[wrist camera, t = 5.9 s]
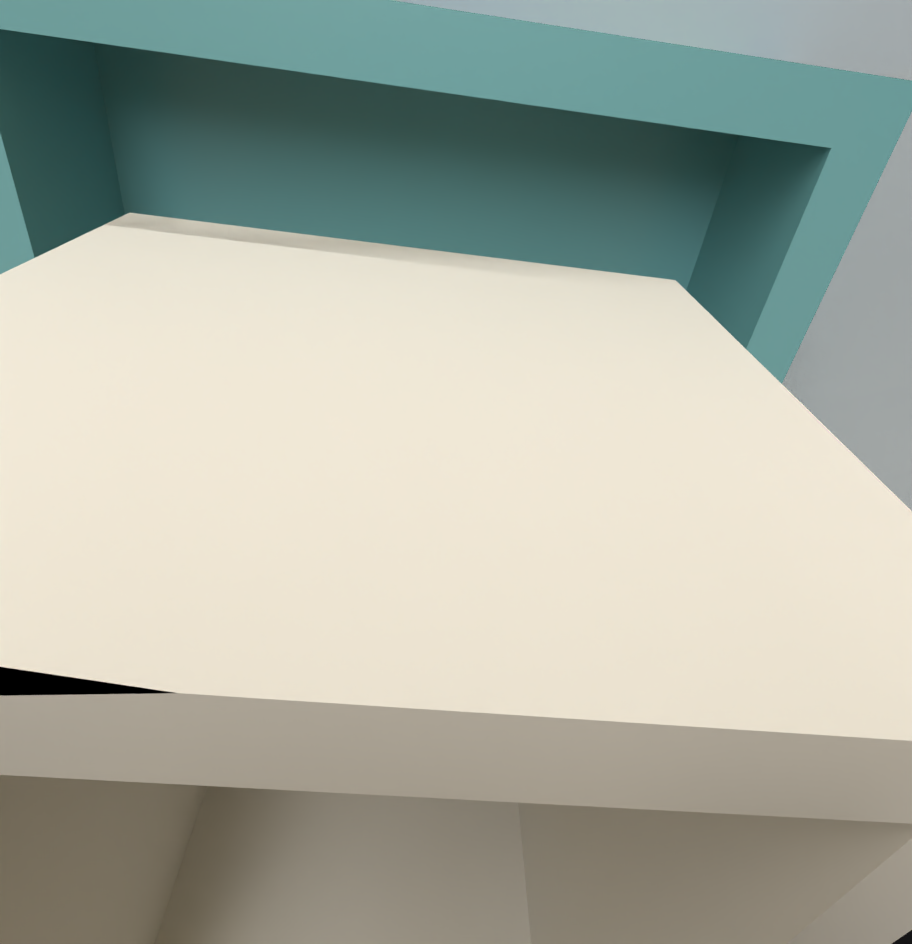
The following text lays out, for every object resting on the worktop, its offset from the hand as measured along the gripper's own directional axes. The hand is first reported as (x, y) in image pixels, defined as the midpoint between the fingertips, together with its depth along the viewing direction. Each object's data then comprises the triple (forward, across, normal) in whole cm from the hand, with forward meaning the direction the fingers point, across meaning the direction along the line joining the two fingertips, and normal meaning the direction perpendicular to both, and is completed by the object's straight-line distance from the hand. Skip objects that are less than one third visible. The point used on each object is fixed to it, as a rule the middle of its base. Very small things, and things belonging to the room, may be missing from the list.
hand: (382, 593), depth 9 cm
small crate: (+1, 0, 0) cm, 1 cm away
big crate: (+9, 0, 0) cm, 9 cm away
